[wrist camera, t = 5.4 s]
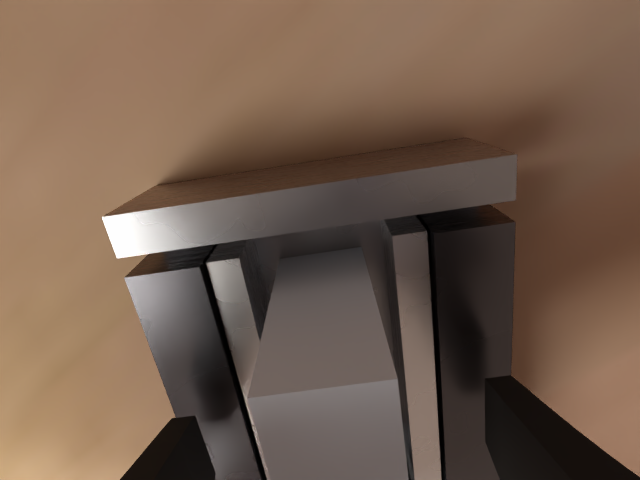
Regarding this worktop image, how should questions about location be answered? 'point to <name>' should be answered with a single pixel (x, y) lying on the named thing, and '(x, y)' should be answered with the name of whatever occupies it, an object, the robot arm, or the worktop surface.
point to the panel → (327, 375)
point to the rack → (324, 236)
